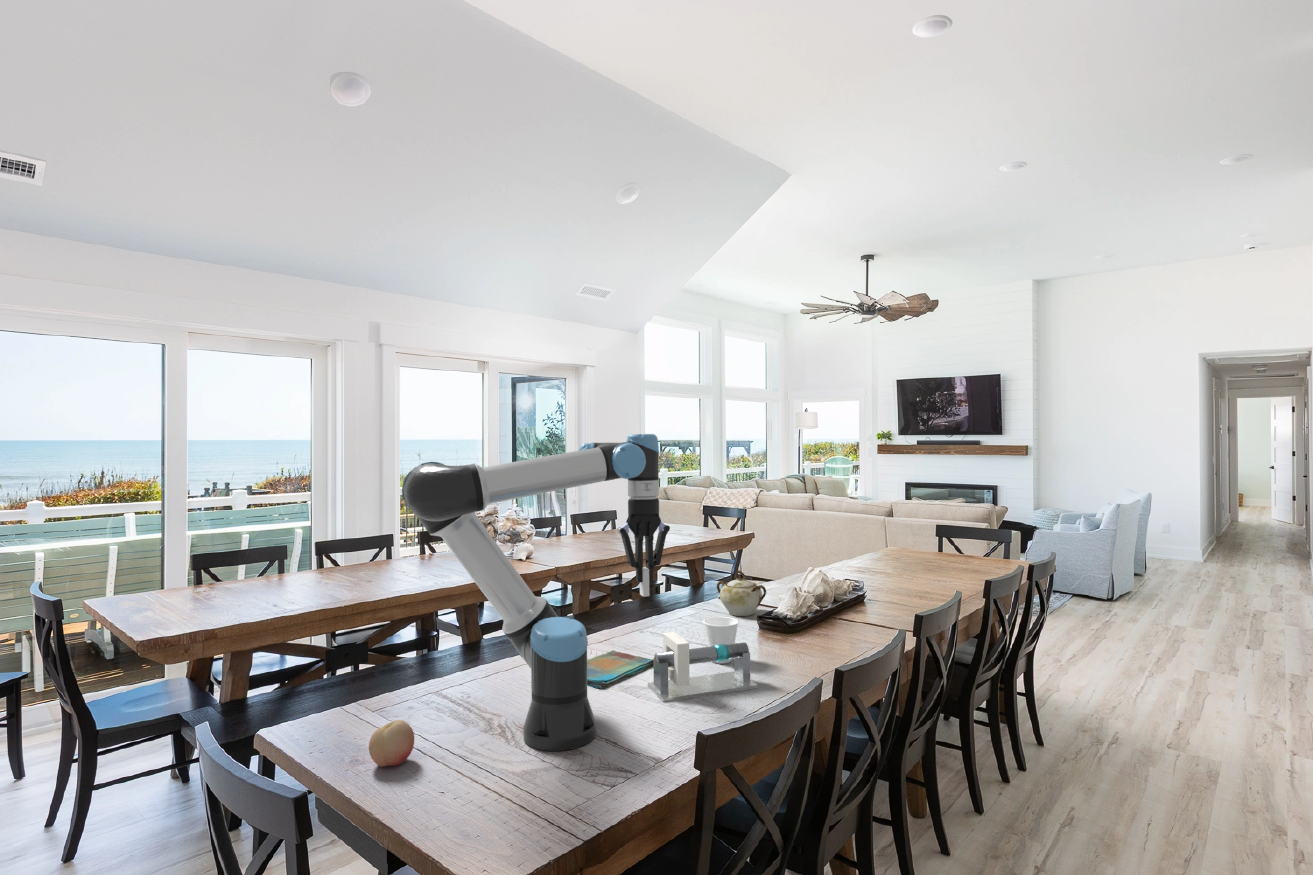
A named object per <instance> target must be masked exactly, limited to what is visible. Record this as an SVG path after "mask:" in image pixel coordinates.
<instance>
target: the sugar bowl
mask: <svg viewBox="0 0 1313 875" xmlns="http://www.w3.org/2000/svg"><path fill="white" fill-rule="evenodd" d="M738 574H740V575H741V576H742V577H740V578H739V576H738ZM734 576H735V579H734V580H731V581H729V582H727V581H724V580H720V581H718V582H717V583H716V589H717V591H718V593H719V599H720V601H721V603H722V605H723V606H724V608H725V609H726V610H727V612H728V613H729V615H731V616H736V617H749V616H752V615H755V614H754V613H755V611H756V610H758V607H759V606H760V605H761V602H762V601H763V600H764V598H765V597H766V595H767V589H766V587H765V586H764V585H762V584H761V585H760V584H759V585H757V583H756V582H753V581H751V580H748V579H746V575H745V573H744V572H742V571H741V570H737V571H736V572H735V575H734ZM720 585H721V588H720Z"/></svg>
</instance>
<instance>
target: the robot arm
mask: <svg viewBox="0 0 1313 875" xmlns="http://www.w3.org/2000/svg"><path fill="white" fill-rule="evenodd" d="M626 438H627V439H626V441H625V442H588V443H587V442H586V443H583V444H581V445H580V447H579V449H578V450H576V451H569V452H565V453H558V454H552V455H546V456H541V457H534V458H528V459H523V460H517V461H511V462H505V463H500V464H494V465H489V466H484V467H483V466H480V465H479V464H477V463H471V464H465V465H446V464H444V463H441V462H437V461H427V462H424V463H423V462H422V463H421V464H418V465H417V466H414V467H413V469H411V470H410V471H409V472H408V473H407V474H406V475H405V477H404V480H403V482H402V486H401V495H402V499H403V502H404V504H405V506H406V507H407V508H408V509H410V510H411V511H412V513H413V515H414V516H416V518H417V520H419V522H420V524H421V525H422V526H423V528H424V529H425V530H426V531H427V532H428V533H429V535H430V536H434V537H440V538H441V539H442V540H443V541H444V543H445V544H446V545H447V546H448V548H449V549H450V551H451V553H453V555H454V557H455V558H456V559H457V560H458V562H459V563H460V564H461V566H462V567H463V569H465V571H466V572H467V574H468V575H469V576H470V578H471V579H472V581H473V582H475V584H476V586H477V587H478V588H479V590H480V592H482V593H483V595H484V597H485V598H486V599H487V601H488V602H489V603H490V604H491V606H492V607H493V609H494V610H495V611H496V612H497V614H498V615H499V616H500V618H501V619H502V621H503V624H502V628H501V630H502V632H503V633H504V635H505V636H506V638H507V639H508V640H509V641H510V643H511V644H512V645H513V647H514V650H515V651H516V652H517V654H518V655H519V656H520V657H521V658H522V659H523V660H524V661H525V663H526V664H527V666H528V667H529V668H530V671H531V672H530V674H531V675H530V676H531V677H530V678H531V682H530V683H531V700H530V704H529V708H528V711H527V714H526V718H525V721H524V724H523V732H522V733H523V741H524V743H525V744H526V745H527V746H529V747H531V748H534V749H537V750H542V751H548V752H549V751H550V752H551V751H553V752H559V751H568V750H574V749H577V748H581V747H583V746H586V745H587V744H588V743H590V742H592V741H593V740H594V738H595V737H596V735H597V723H596V719H595V716H594V713H593V710H592V706H591V704H590V701H589V698H588V697H589V696H588V686H587V660H588V645H589V641H588V637H587V629H586V627H585V625H584V624H583V623H582V622H580V621H579V620H577V619H574V618H569V617H564V616H559V615H558V614H557V613H556V611H555V610H554V608H553V607H552V606H551V604H550V603H549V601H548V600H547V599H546V598H545V597H544V596H536V595H535V594H534V593H533V591H532V590H531V588H530V587H529V586H528V584H527V583H526V581H525V580H524V579H523V577H522V576H521V575H520V573H519V572H518V571H517V569H516V568H515V567H514V565H513V564H512V563H511V561H510V560H509V558H508V557H507V555H506V553H504V552H503V550H502V549H501V547H500V546H499V544H498V543H497V542H496V541H495V539H494V538H493V536H492V534H490V532H489V531H488V529H487V528H486V527H485V526H484V524H483V523H482V521H481V520H480V519H479V517H478V515H477V514H476V513H477V512H483V511H485V509H486V508H487V507H488V505H491V504H496V503H502V502H506V501H511V500H517V499H521V498H525V497H531V496H535V495H541V494H546V493H547V494H548V493H551V492H557V491H561V490H565V489H570V488H571V489H572V488H576V487H581V486H587V485H591V484H596V483H597V484H598V483H601V482H607V481H613V480H618V479H624V480H627V496H628V497H629V498H628V499H627V514H628V515H627V518H626V522H625V524H624V525H623V526H619V527H617V533H618V534H619V535H620V536H621V539H622V540H621V541H622V545H623V548H624V552H625V556H626V560H627V564H628V565H629V566H630V567H632V568H634V569H635V580H636V582H638V583H639V595H640V596H642V597H650V582H653V580H654V574H653V573H654V568H655V567H656V566H660V565H661V563H662V556H663V552H664V547H665V543H666V537H667V536H668V533H669V532H670V529H671V527H670V526H669V524H665V523H663V522H662V519H661V516H660V499H659V498H657V497H658V496H660V487H659V484H660V483H659V482H660V481H659V477H660V476H659V454H660V451H659V450H660V449H659V447H660V446H659V440H658V436H657V435H656V434H654V433H642V434H641V433H639V434H638V433H637V434H635V433H634V434H633V433H632V434H631V433H629V434H628V435H627V437H626ZM629 529H630V530H629ZM657 530H658V534H657V538H656V543H655V547H654V539H655V538H654V535H655V533H656V532H657ZM630 531H631V533H632V534H633V535H634V536H633V537H634V551H633V547H632V543H631V537H630V535H629V533H630ZM644 545H645V546H644ZM644 548H645V549H644ZM644 552H645V556H644ZM644 558H645V559H644ZM644 562H645V567H644Z"/></svg>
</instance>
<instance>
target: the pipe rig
mask: <svg viewBox="0 0 1313 875" xmlns="http://www.w3.org/2000/svg"><path fill="white" fill-rule="evenodd" d="M653 656H654V657H653V658H652V659H653V666H652V667H653V682H648V683H647V687H648V688H649V689H650V690H651V691H652V693H653V694H655V695H656V696H657V698H659V700H660V701H661V702H662V703H665V702H666V703H667V702H672V701H673V702H674V701H679V700H687V699H692V698H699V697H705V696H706V697H708V696H712V695H719V694H726V693H727V694H728V693H733V692H734V693H735V692H740V691H741V692H742V691H747V690H755V689H758V688H759V685H758V684H757V683H756V682H755V681H753V680H751V652H750V649H749V645H748V644H747V642H737V643H736V642H735V644H727V645H726V644H721V645H713V646H711V647H708V646H705V647H704V646H703V647H698V648H697V647H695V648H689V665H696V664H704V663H711V662H712V661H715V662H719V661H727V660H728V659H732V660H733V663H734V664H733V665H734V666H733V669H734V671H727V672H720V673H712V674H704V675H698V676H689V680H690V685H684V686H677V685H676V684H675V683H674V682H673V681H672V680H669V678H668V667H674V651H670V652H663V651H662V652H655V654H654V655H653ZM712 663H713V662H712Z"/></svg>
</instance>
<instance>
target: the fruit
mask: <svg viewBox="0 0 1313 875" xmlns="http://www.w3.org/2000/svg"><path fill="white" fill-rule="evenodd" d="M414 745H415V732H414V730H413V729H412V726H410V724H409V723H407V722H406V720H405V721H404V720H402V719H395V720H393V721H392V720H391V721H390V722H388V723H386V724H384V725H383V726H380V727H379V728H378V729H376V730H374V732H373V733H372V735H371V737H370V739H369V743H368V753H369V755H370V758H371V759H372V761H373V762H374V763H375V764H376V765H377V766H379V767H383V768H384V767H389V766H390V767H396V766H399V765H401V764H403V763H404V762H405V761H406V760H408V758H409V757H410V755H411V754H412V752H413V749H414Z"/></svg>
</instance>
